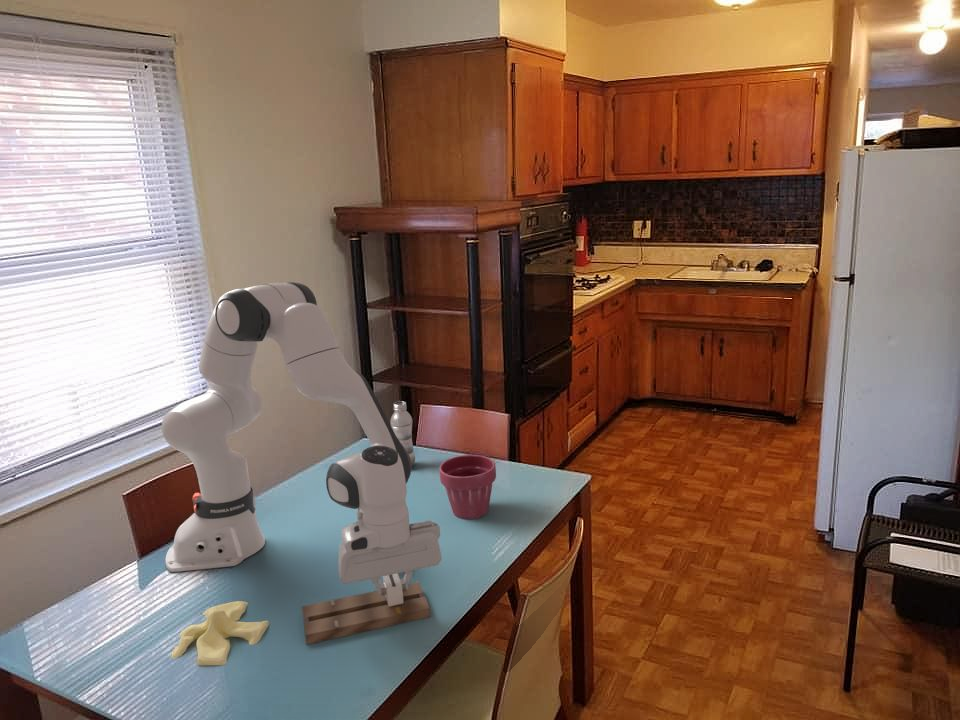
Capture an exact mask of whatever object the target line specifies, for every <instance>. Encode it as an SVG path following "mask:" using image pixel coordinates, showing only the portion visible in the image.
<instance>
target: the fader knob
mask: <svg viewBox="0 0 960 720" xmlns="http://www.w3.org/2000/svg"><path fill="white" fill-rule="evenodd" d="M400 580H401V578H400V575H399V573H397V574H392V575H387V576H382V583H384V584H385V587H386V595H385V597H386V600H387V603H388V606H394V605H398V604H403V603H404V602H403V591H402V584H401V581H400Z"/></svg>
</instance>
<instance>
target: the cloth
mask: <svg viewBox="0 0 960 720" xmlns="http://www.w3.org/2000/svg"><path fill="white" fill-rule="evenodd" d="M248 605H249V602H247V601H241V600H236V601H231V602H227V603H221V604H218V605H215V606H212V607H211V606H210V607H209V608H208V609H206V610H205V611H204V612H203V613H202V616H203V615H206V616H207V617H206V620H205V621H203V622H201V623H198V624H190V625H188V626H187V627H186V628H184V629H183V630H182V631H180V632H181V633H180V632H179V633H180V635H181V636H180V637H179V642H178V644H177V645H178V646H177V645H176V646H175V647H174V648H175V649H174V648H173V650H174V651H173V650H172V652H171V654H172V656H171V655H170V656H171V657H172V658H176V659H178V657H179V656H180V657H182V656H183V655H184V654H185V653H184V652H186V651H187V649H188V647H189V646H190V645H191V644H192V643H193V642H194V641H195V640H196V650H197V660H196V665H197V666H223V665H225V664H226V663H228V661H227V659H228V655H229V653H230V650H231V643H230V639H227V638H233V637H234V638H241V639H244V640H246V641H247V642H248V644H249V645H250V646H254V645H256V644H258V643H259V642H260V640H261V639H262V637H263V635H264V633H265V632H266V631H267V629H268V627H269V625H270V621H268V620H263V621H262V620H261V621H247V622H246V621H239V620H240V618H241V617H242V615H243V614H244V613H245V612H246V608H247V606H248ZM183 653H184V654H183ZM182 654H183V655H182ZM180 657H179V658H180ZM172 658H171V659H172Z"/></svg>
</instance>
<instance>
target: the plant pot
mask: <svg viewBox="0 0 960 720" xmlns="http://www.w3.org/2000/svg"><path fill="white" fill-rule="evenodd" d="M496 466H497V465H496V463H495V461H494V460H493V459H492V458H491V457H488V456H484V455H479V454H464V455H463V454H462V455H457V456H454V457H451V458H448V459H446V460H444V461H443V462H441V464H440V466H439V480H440V483H441V484H442V485H443V486H444V488H445V492H446V495H447V499H448V502H449V505H450V507H451V510H452V513H453V515H454V516H455V517H457V518H459V519H464V520H473V519H478V518H481V517H483V516H485V515H486V514H487V513H488V511H489V507H490V506H489V505H490V502H491V501H490V500H491V495H492V489H493V483H494V482H495V481H496V479H497V469H496V468H497V467H496Z"/></svg>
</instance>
